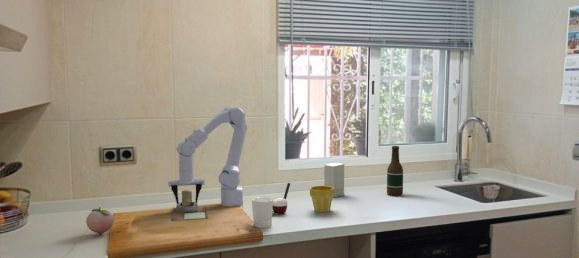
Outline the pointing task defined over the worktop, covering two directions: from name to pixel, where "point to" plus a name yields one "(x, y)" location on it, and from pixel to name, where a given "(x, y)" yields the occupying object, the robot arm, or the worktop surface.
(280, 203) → the cocoa
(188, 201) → the maple peg
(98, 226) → the decorative fruit
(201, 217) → the pad
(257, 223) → the white cup
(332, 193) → the plant pot
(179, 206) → the grey square frame
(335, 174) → the skincare box
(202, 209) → the walnut board
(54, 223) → the worktop surface
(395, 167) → the beer bottle
